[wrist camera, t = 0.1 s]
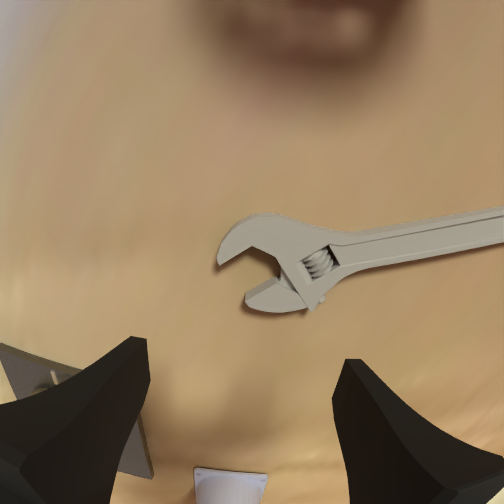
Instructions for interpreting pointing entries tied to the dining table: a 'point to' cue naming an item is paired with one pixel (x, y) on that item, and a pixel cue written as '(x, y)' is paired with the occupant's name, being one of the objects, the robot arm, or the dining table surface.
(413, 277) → the dining table surface
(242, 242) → the adjustable wrench
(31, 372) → the base plate
